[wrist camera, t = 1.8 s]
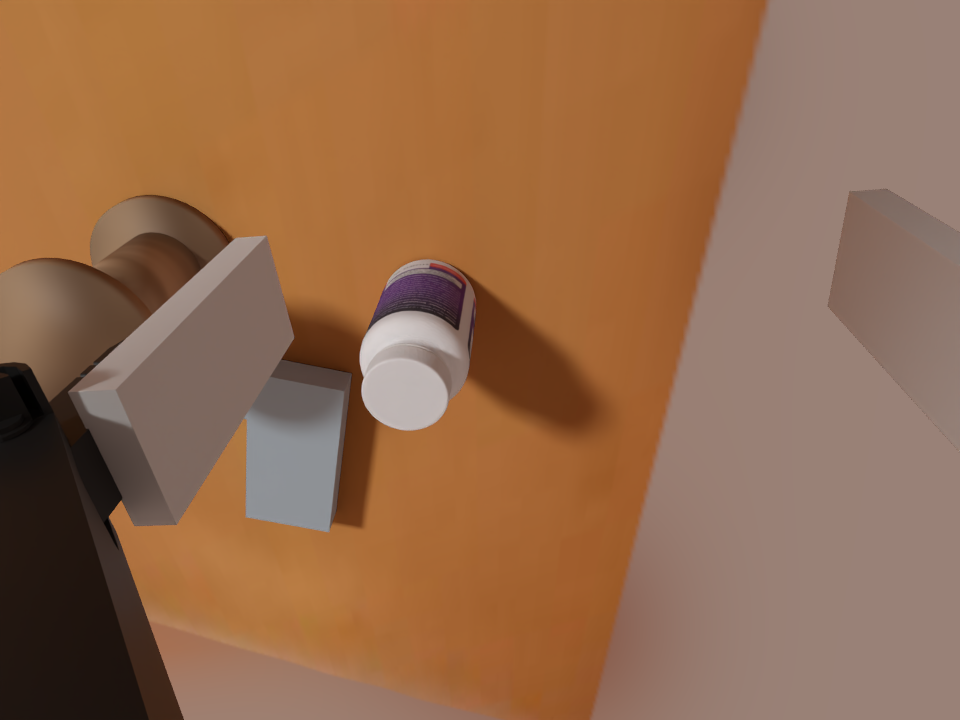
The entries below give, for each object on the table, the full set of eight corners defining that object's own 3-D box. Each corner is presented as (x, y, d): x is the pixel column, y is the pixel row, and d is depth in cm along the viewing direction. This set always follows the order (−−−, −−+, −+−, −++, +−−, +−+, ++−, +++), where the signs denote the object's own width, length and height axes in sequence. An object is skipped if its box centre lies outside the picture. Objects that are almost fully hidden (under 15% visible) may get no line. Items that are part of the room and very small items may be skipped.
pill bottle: (365, 281, 37) (321, 373, 29) (447, 240, 36) (425, 324, 27) (415, 355, 40) (387, 458, 31) (493, 319, 38) (486, 418, 30)
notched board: (81, 464, 46) (63, 484, 44) (57, 315, 39) (36, 331, 38) (336, 511, 47) (329, 532, 45) (351, 373, 40) (344, 391, 39)
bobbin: (105, 311, 39) (-5, 403, 31) (90, 181, 35) (-42, 247, 27) (239, 337, 40) (165, 435, 31) (239, 212, 35) (155, 286, 27)
